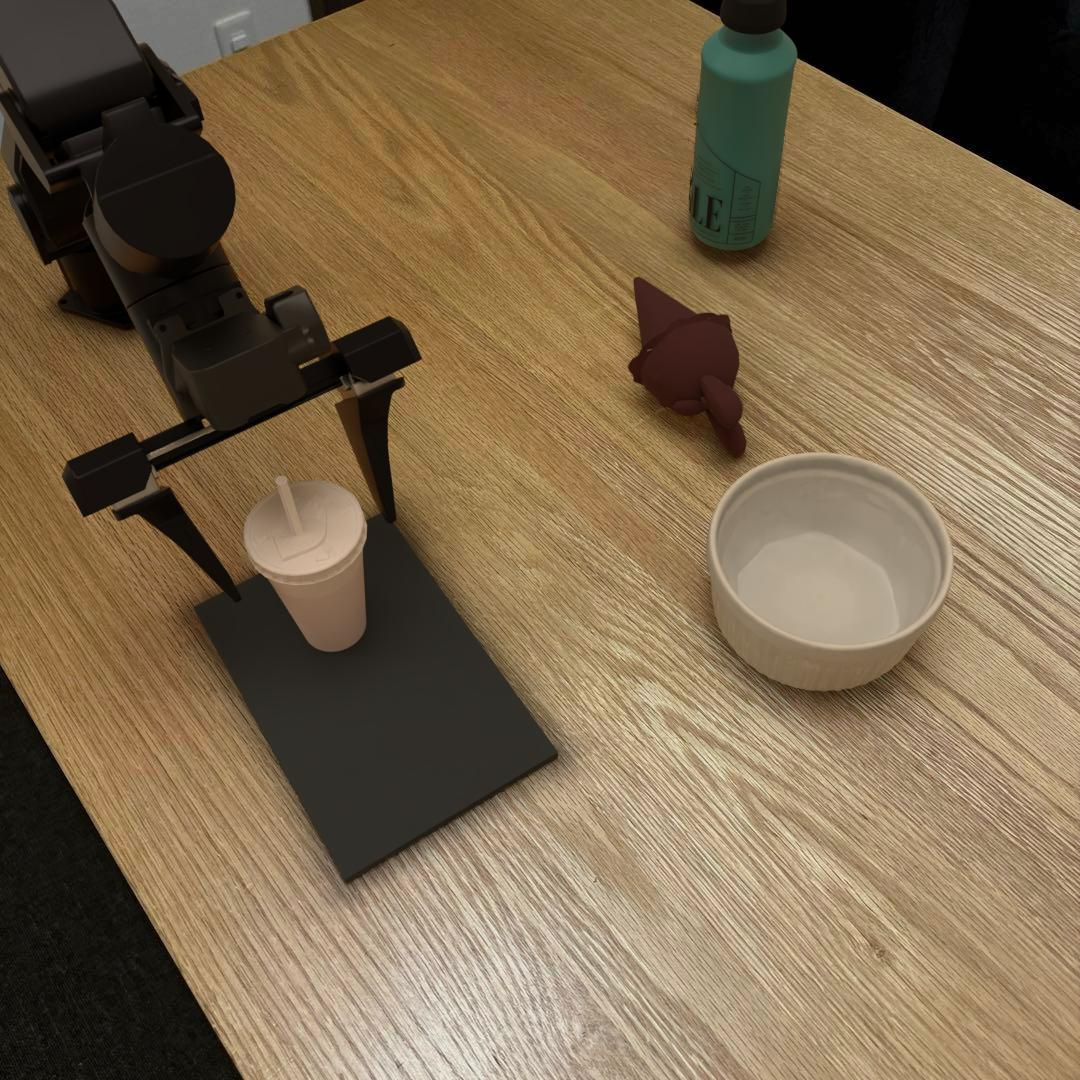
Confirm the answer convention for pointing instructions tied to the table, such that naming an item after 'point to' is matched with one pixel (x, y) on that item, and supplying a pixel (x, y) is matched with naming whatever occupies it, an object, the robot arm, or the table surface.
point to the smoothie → (313, 557)
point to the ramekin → (826, 569)
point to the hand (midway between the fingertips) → (316, 560)
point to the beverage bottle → (741, 124)
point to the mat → (378, 707)
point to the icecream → (689, 363)
